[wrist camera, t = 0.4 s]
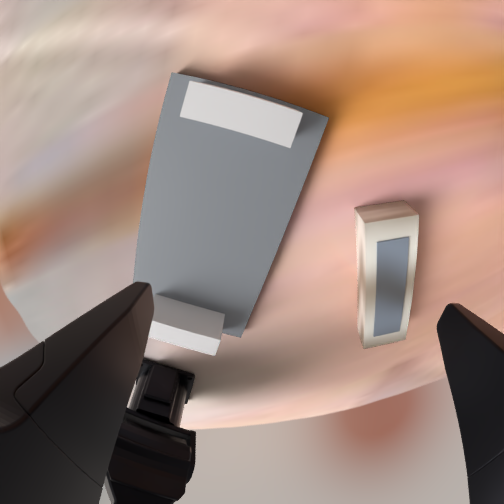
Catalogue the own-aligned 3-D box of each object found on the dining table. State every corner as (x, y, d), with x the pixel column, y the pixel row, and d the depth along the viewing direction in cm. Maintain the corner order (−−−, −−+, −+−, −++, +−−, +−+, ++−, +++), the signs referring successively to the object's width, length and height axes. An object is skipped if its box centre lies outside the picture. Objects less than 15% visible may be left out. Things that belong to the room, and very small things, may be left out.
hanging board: (241, 329, 27) (238, 363, 23) (135, 299, 26) (119, 329, 22) (325, 116, 18) (340, 122, 14) (176, 73, 16) (155, 69, 13)
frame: (395, 317, 26) (405, 340, 24) (356, 325, 27) (363, 350, 24) (402, 198, 20) (419, 215, 18) (352, 206, 21) (365, 224, 18)
